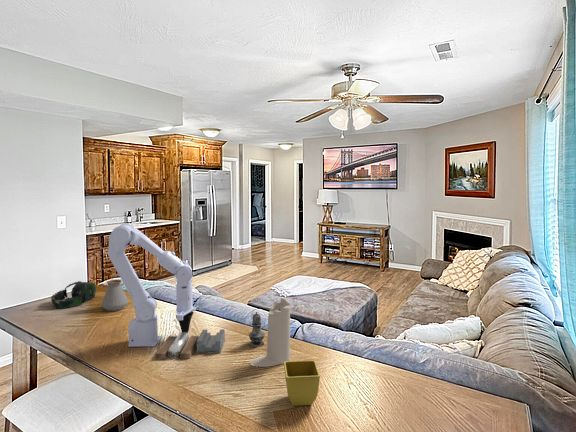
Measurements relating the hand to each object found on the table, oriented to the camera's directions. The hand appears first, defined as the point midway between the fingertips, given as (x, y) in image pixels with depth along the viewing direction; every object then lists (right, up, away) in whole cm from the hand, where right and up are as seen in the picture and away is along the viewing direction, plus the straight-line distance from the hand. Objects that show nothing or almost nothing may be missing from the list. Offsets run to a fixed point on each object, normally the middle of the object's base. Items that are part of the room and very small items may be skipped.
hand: (185, 332), depth 136 cm
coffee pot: (-40, +1, +37) cm, 54 cm away
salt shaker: (+27, -3, -4) cm, 28 cm away
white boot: (+32, -4, -17) cm, 37 cm away
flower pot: (+42, -6, -39) cm, 57 cm away
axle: (0, -1, -9) cm, 9 cm away
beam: (0, -3, -9) cm, 9 cm away
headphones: (-65, +1, +41) cm, 77 cm away
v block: (+11, -3, -7) cm, 13 cm away
